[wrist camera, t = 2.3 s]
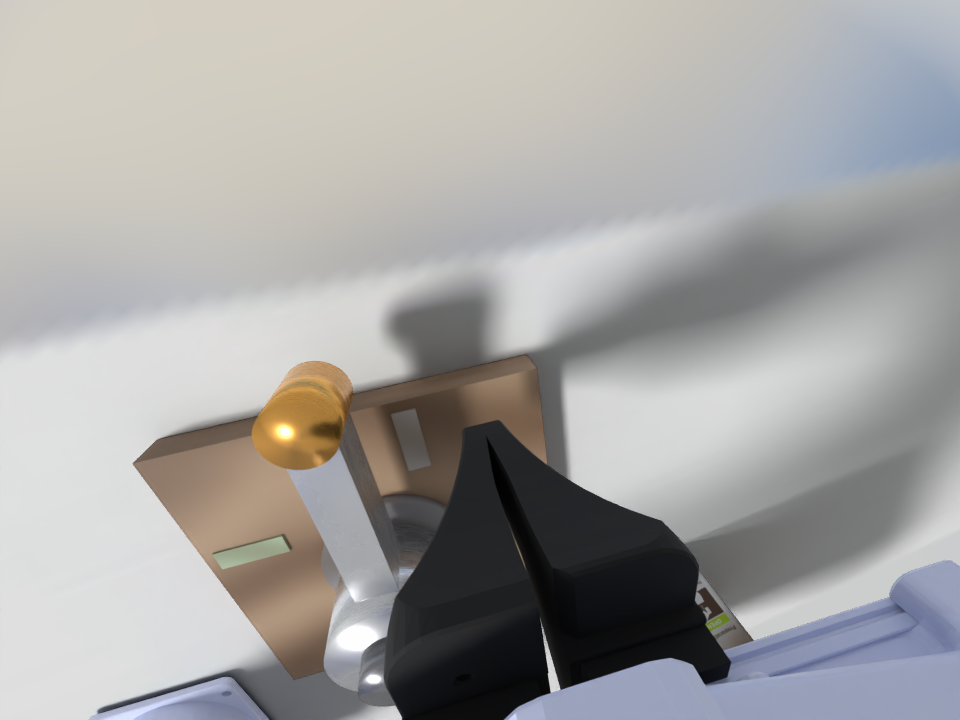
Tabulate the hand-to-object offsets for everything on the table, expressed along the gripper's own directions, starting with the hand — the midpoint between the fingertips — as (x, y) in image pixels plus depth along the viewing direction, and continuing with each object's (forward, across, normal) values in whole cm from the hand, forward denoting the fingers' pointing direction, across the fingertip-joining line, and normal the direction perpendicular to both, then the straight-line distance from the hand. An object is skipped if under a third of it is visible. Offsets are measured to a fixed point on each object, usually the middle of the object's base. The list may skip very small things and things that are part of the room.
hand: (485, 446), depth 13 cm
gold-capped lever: (+2, +5, +3) cm, 6 cm away
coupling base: (+4, +5, +7) cm, 10 cm away
